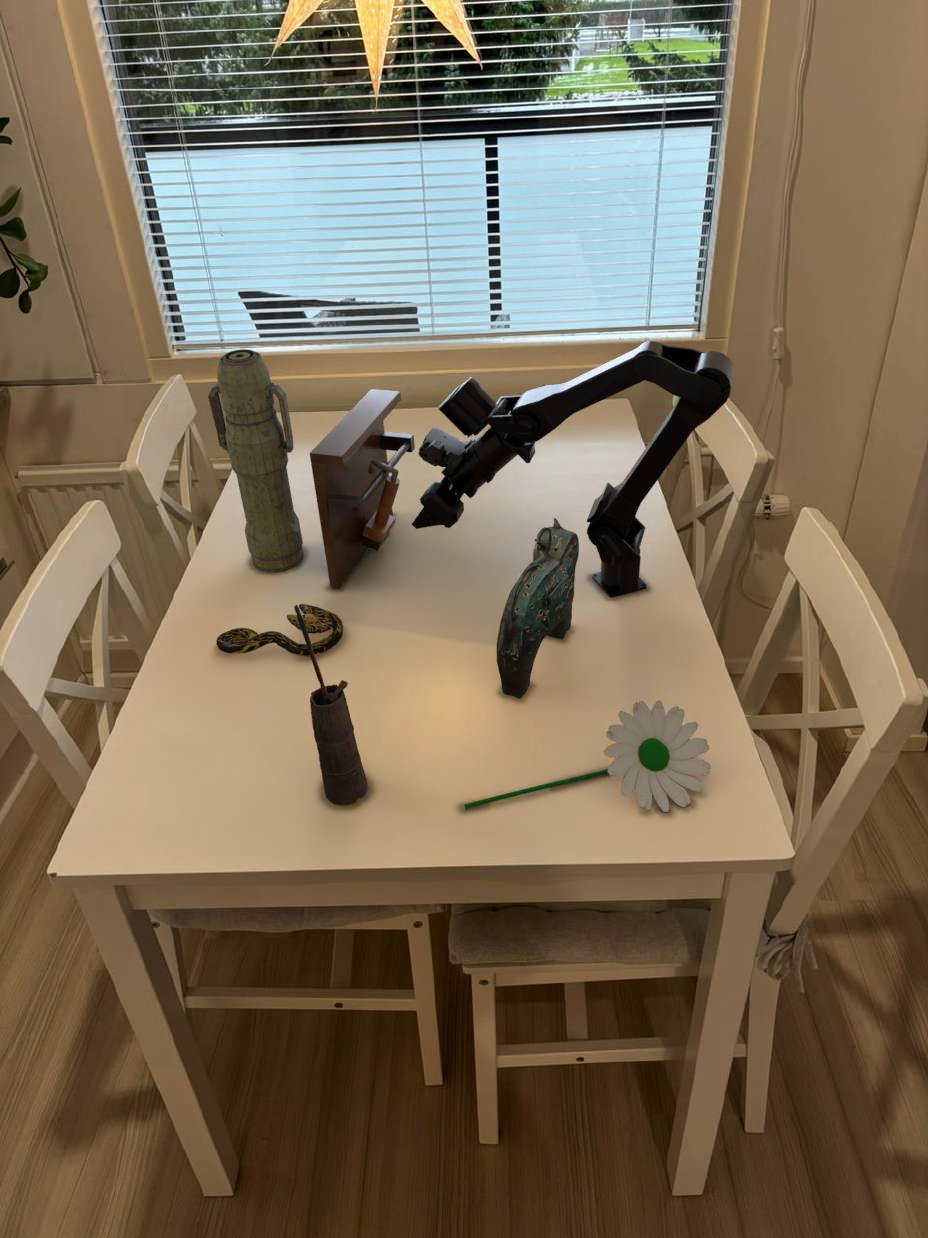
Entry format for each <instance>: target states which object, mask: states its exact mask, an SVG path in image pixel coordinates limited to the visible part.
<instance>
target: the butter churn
mask: <svg viewBox="0 0 928 1238" xmlns="http://www.w3.org/2000/svg"><path fill="white" fill-rule="evenodd" d="M293 607H294V608H293V609H294V612H295V615H297V619H298V622H299V625H300V628H301V630H302V631H301V630H300V631H301V634H302V636H303V639H304V643H305V644H306V645H307V648H308V651H309V654H310V656H309V657H310V660H311V663H312V667H313V669H314V672H315V675H316V678H317V681H318V682H319V686H320V687H319V688H317V689H315V690H314V691H311V693H310V697H309V704H310V715H311V723H312V724H311V725H312V729H313V737H314V741H315V744H316V749H317V753H318V760H319V769H320V771H321V779H322V785H323V790H324V795H325V798H326V799H327V801H329V802H330V803H331V804H333V805H336V806H346V805H347V806H348V805H353V804H356V803H357V801H358V799H359V798H364V797H365V796H366V795H367V793H368V791H369V784H368V783H369V782H368V779H367V776H366V772H365V769H364V765H363V762H362V759H361V754H360V752H359V748H358V743H357V740H356V736H355V727H354V724H353V722H352V718H351V713H350V710H349V709H350V708H349V705H348V702H347V698H346V694H345V691H344V690H345V689H346V688H347V687H348V685H349V683H348V682H347V681H346V680H343V679H341V681H340V682H339V683H338V684H331V685H330V684H328V685H325V682H324V678H323V674H322V673H321V669H320V666H319V664H318V660H317V657H316V655H315V654H314V651H313V648H312V641H311V638H310V635H309V634H310V633H308V631H307V628H306V625H305V622H304V620H303V618H302V615H303V614H302V612H301V610H300V609H299V605H298V604H295V605H294V606H293Z"/></svg>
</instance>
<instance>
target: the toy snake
mask: <svg viewBox="0 0 928 1238" xmlns="http://www.w3.org/2000/svg"><path fill="white" fill-rule="evenodd" d="M298 608H299V610H300V612H301V615H302V618H303V620H304V622H305V625H306V628H307V631H308V634H311V635H314V634H323V633H326V632H328V631H330V630H331V629H332V633H330V634H329V635H328V636H327V637H323V638H322V639H320V640H318V641H315V642H311V644H312V648H313V651H314V654H315V656H316V655H319V654H323V653H327V652H328V651H330V650H331V649H332V648H333V647H335V646H337V644H338V643H339V642H340V641H341V639H343V636H344V624H343V621H342V619H341V618H340V617H339V616H338V615H337V614H336V613H333V612H332V611H329V610H327V609H324V608H322V607H319V606H315V605H311V604H306V603H300V604H299V605H298ZM286 619H287V621H288V622H289V623H290V625H292V626H294V627H295V629H297V630H299V631H300V632H302V630H301V628H300V625H299V622H298V619H297V614H287V615H286ZM215 644H216V647H217V648H218V650H219V651H221V652H223V653H226V654H232V655H238V654H246V653H250V652H254V651H256V650H258V649H259V648H262V647H264V646H266V645H270V644H276V646H277V647H280V648H281V649H284V651H286V652H287V653H289V654H292V655H296V656H301V657H310V654H309V651H308V648H307V645H306V643H299V642H296V641H294V640H293V639H292V638H290V637H289V636H286V634H283V633H282V632H279V631H276V630H275V631H274V630H270V631H269V630H268V631H264V632H261V633H258V632H257V631H255V630H254V629H251V628H249V627H236V628H232V629H230V630H226V631H224V632H222V633H221V634H220V635H218V636H217V638H216V643H215Z"/></svg>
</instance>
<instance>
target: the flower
mask: <svg viewBox="0 0 928 1238" xmlns="http://www.w3.org/2000/svg"><path fill="white" fill-rule="evenodd" d="M632 704H633V705H632V714H631V713H629V712H626V711H622V710H620V711H618V718H619V722H620V723H621V724H622V725H621V724H611V725H608V728H607V731H606V737H607V738H608V739H609V740H610V741H611V742H614V743H612V744H610V745H608V746H607V747H605V748H604V750H603V755H604V756H605V757H608V758H611V759H612V758H615V759H613V760H612V762H611V763H609V766H608V768H606V769H603V770H599V771H595V772H590V773H587V774H582V775H578V776H573V777H570V778H565V779H561V780H556V781H552V782H548V783H543V784H539V785H535V786H531V787H528V788H523V789H519V790H515V791H510V792H507V793H503V794H499V795H495V796H492V797H487V798H483V799H480V800H476V801H471V802H468V803H464V804H463V806H464V810H468V809H472V808H475V807H479V806H483V805H486V804H490V803H493V802H494V803H495V802H498V801H502V800H505V799H510V798H513V797H514V798H515V797H517V796H522V795H525V794H530V793H535V792H539V791H542V790H546V789H551V788H556V787H559V786H564V785H568V784H571V783H577V782H580V781H584V780H589V779H593V778H597V777H601V776H605V775H609V778H610V780H611V781H612V782H614V781H619V780H620V779H622V778H623V779H622V783H621V789H620V791H621V795H622V796H623V797H625V798H626V797H627V798H628V797H629V796H630V795H631V794H632V792H633V791H634V790H635V792H634V793H635V800H636V803H637V805H638V807H639V808H643V809H644V810H648V811H649V810H650V809H651V807H652V804H653V799H654V801H655V802H656V804H657V806H658V807H659V809H660V810H661V811H662V812H663V813H667V812H669V811H670V802H669V799H670V800H671V801H672V802H674V803H675V804H676V805H677V806H678V807H680V808H682V809H684V808H686V807H687V806H689V805H691V803H692V801H691V797H690V794H689V793H688V792H687V791H686V789H688V790H691V791H693V792H696V793H703V791H704V787H703V785H702V783H700V781H699V780H697V778H695V777H693V776H697V777H698V776H700V777H706V776H707V777H708V776H709V775H710V774H711V768H712V767H711V763H710V762H707V761H706V760H705V759H702V758H698V756H700V755H702V754H705V753H707V752H708V751H709V750H710V745H709V743H708V740H707V739H706V738H705V737H704V738H703V737H693V738H691V737H692V736H694V734H695V733H696V731H697V730H698V728H699V723H698V722H697V721H691V722H689V721H688V722H687V723H685V724H683V722H684V718H685V710H684V709H683V708H680V707H679V706H677V705H674V706H673V707H671V708H670V709H668V711H667V712H665V708H664V704H663V702H662V700H660V699H658V700H656V701H655V703H654V704H653V705H652V707H651V709H650V707H649V706H648V705H647V704H646V702H645V701H643V700H639V701H638V702H637V701H636V702H634V703H632ZM684 788H685V789H684ZM668 797H669V798H668Z"/></svg>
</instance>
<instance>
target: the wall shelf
mask: <svg viewBox="0 0 928 1238" xmlns="http://www.w3.org/2000/svg"><path fill="white" fill-rule="evenodd" d="M401 401H402V395H401V391H400V390H389V389H378V388H377V389H375V388H371V389H370V390H369V391H368V392H367V393H366V394H365V395H363V397H362V398H361V399H360V400H359V401H358V402H357V403H356V404H355V405H354V406H353V407H352V409H351V410H350V411H349V412H348V413H347V414H346V415H345V416H343V418H341V420H340V421H339V422H338V423H337V424H336V425H335V426H334V427H333V428H332V429H331V430H330V431H329V432H328V433H327V435H325V436H324V437H323V439H321V440H320V442H319V443H318V444H316V446H315V447H314V448H313V449H312V450H311V451H310V452H309V458H310V465H311V472H312V479H313V484H314V491H315V498H316V504H317V510H318V516H319V517H318V518H319V523H320V530H321V537H322V541H323V548H324V555H325V561H326V569H327V575H328V581H329V587H330V589H333V590H340V589H341V588H342V587H343V585H344V584H345V583H346V581H347V580H348V579H349V577H350V576H351V574H352V573H353V571H354V570H355V569H356V567H357V566H358V565H359V563H360V562H361V560H362V559H363V558H364V557H365V555H366V553H367V552H368V551H369V549H370V548H368V547H366V546H364V545H362V544H361V543H362V540H363V535H362V534H363V531H364V528H365V525H366V524H367V523H368V521H369V520H370V519H371V517H372V516H373V515H374V513H375V512H376V511H377V509H378V505H379V502H380V499H381V495H382V492H383V488H384V485H385V482H386V478H387V477H388V476H390V474H391V473H390V472H387V471H385V470H383V469H381V468H378V467H375V470H374V473H373V474H369V473H368V470H369V467H370V463H371V460H373V459H375V460H377V461H379V462H381V463H384V464H386V465H388V466H390V467H393V468H395V467H396V465H397V464H398V463H399V462H400V460H401V459H402V457H403V456H404V455H405V454H406V453H413V451H414V450H415V449H416V446H415V434H414V433H403V432H394V431H391V432H390V431H385V423H384V421H385V420H386V419H387V417H388V416H389V415H390V414H391V413H392V412H393V410H394V409H395V408H396V407H397V406H398V405H399V403H400V402H401ZM387 451H392V452H395V453H394V454H393V455H392V457H391V458H390V459H389V460H388V454H387ZM393 510H394V509H392V510H391V513H390V515H391V516H394V511H393Z"/></svg>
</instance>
